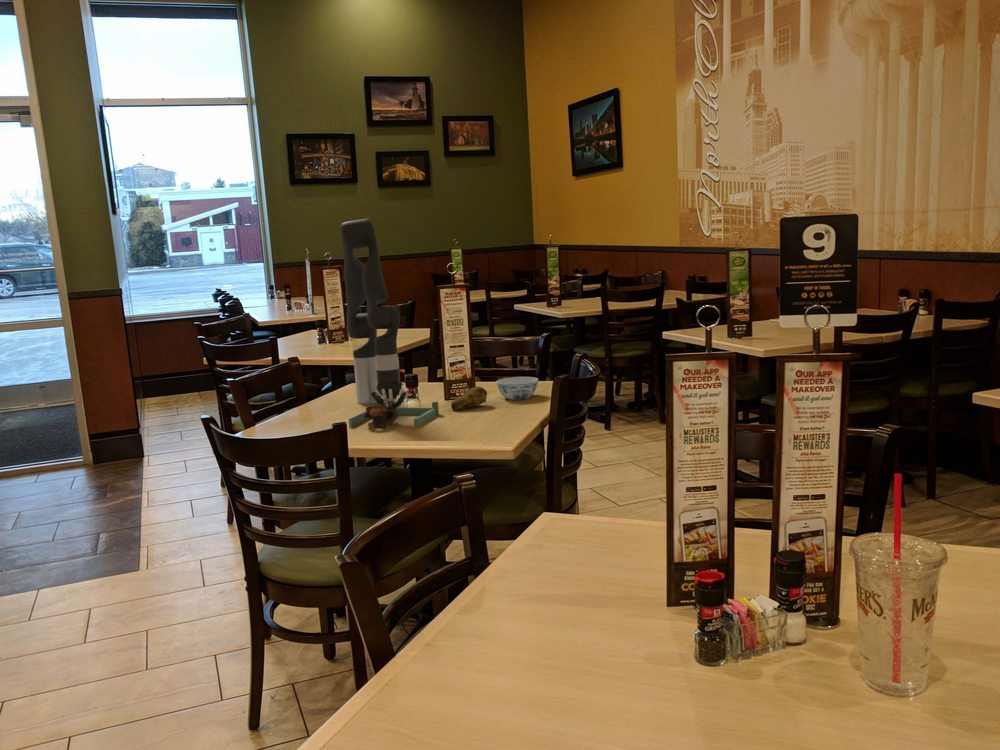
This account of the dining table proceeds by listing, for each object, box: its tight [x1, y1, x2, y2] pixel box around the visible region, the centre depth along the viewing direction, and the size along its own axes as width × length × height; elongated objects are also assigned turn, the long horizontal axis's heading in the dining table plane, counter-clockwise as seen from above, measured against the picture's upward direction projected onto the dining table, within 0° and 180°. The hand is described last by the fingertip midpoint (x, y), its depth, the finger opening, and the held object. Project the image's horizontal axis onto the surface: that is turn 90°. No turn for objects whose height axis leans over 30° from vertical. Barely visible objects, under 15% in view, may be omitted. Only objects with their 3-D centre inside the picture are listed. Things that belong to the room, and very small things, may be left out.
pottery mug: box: [364, 404, 399, 431], centre depth 269 cm, size 12×9×8 cm
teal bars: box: [348, 401, 440, 428], centre depth 277 cm, size 18×25×5 cm
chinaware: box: [496, 376, 539, 401], centre depth 300 cm, size 15×15×8 cm
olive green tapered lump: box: [450, 386, 488, 412], centre depth 288 cm, size 8×13×8 cm, turn 98°
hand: (391, 419), depth 275 cm, fingers closed
